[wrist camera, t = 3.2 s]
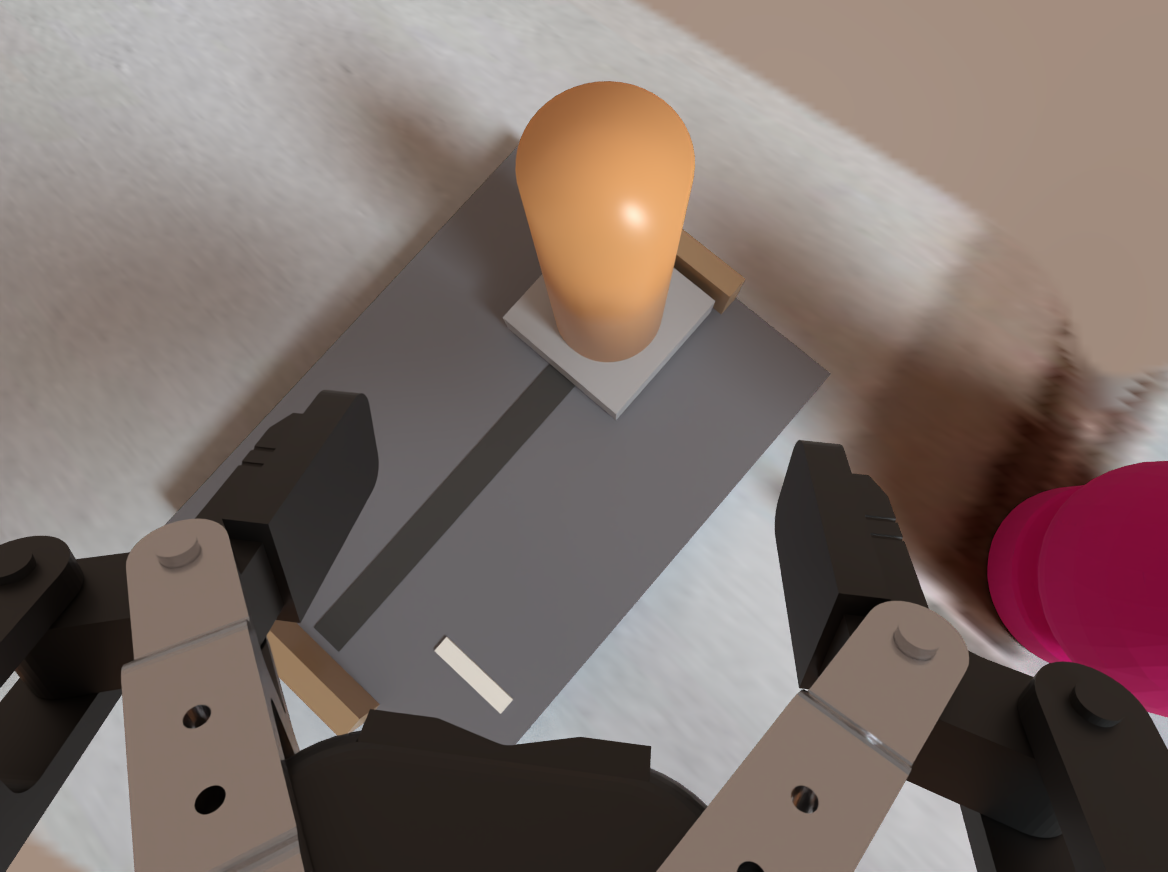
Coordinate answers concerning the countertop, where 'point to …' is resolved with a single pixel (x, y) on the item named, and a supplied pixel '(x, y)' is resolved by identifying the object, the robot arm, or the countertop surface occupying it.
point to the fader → (607, 239)
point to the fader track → (511, 482)
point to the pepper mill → (1091, 577)
